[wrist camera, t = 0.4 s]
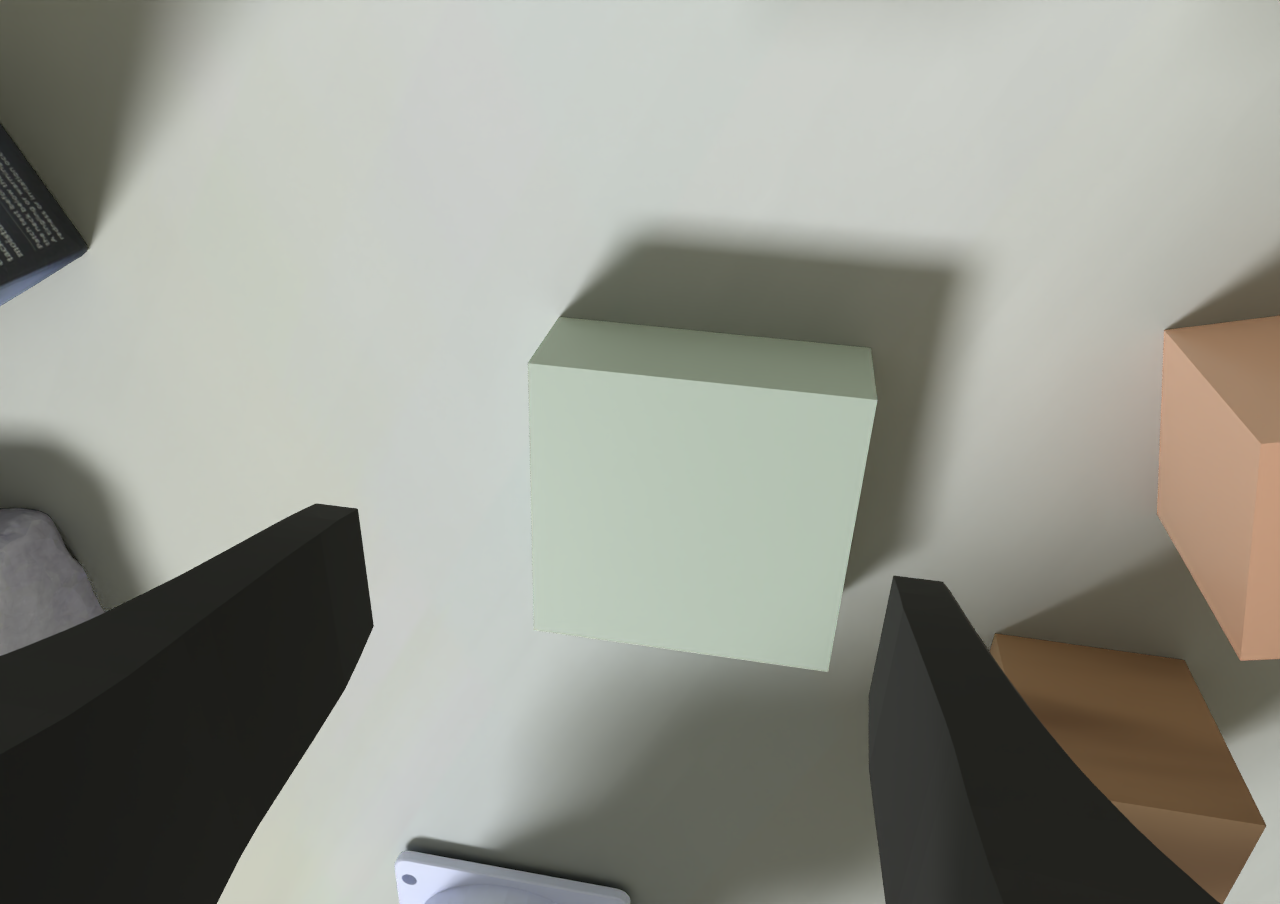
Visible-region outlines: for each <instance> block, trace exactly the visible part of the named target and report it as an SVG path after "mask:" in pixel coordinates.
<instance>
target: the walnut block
mask: <svg viewBox="0 0 1280 904" xmlns="http://www.w3.org/2000/svg"><path fill="white" fill-rule="evenodd" d="M990 653H991V655H992V656H993V658H994V659H995V661H996V662H997V663H998V665H999V666H1000V668H1001V669H1002V671H1003V672H1004V673H1005V675H1006V676H1007V677H1008V679H1009V680H1010V681H1011V683H1012V684H1013V686H1014V687H1015V688H1016V690H1017V691H1018V692H1019V694H1020V695H1021V696H1022V698H1023V699H1024V701H1025V702H1026V703H1027V705H1028V706H1029V707H1030V709H1031V710H1032V711H1033V712H1034V714H1035V715H1036V716H1037V718H1038V719H1039V720H1040V721H1041V723H1042V724H1043V725H1044V727H1045V728H1046V729H1047V730H1048V732H1049V733H1050V734H1051V735H1052V736H1053V738H1054V739H1055V740H1056V741H1057V742H1058V744H1059V745H1060V746H1061V747H1062V748H1063V750H1064V751H1065V752H1066V753H1067V754H1068V756H1069V757H1070V758H1071V759H1072V760H1073V762H1074V763H1075V764H1076V765H1077V766H1078V767H1079V768H1080V770H1081V771H1082V772H1083V773H1084V774H1085V775H1086V776H1087V777H1088V778H1089V779H1090V781H1091V782H1092V783H1093V784H1094V785H1095V786H1096V787H1097V788H1098V789H1099V790H1100V791H1101V792H1102V793H1103V794H1104V795H1105V796H1106V797H1107V798H1108V799H1109V800H1110V801H1111V802H1112V803H1113V804H1114V805H1115V806H1116V807H1117V808H1118V809H1119V811H1120V812H1121V813H1122V814H1123V815H1124V816H1125V817H1126V818H1127V819H1128V820H1129V821H1130V822H1131V823H1132V824H1133V825H1134V826H1135V827H1136V828H1137V829H1138V830H1139V831H1140V832H1141V833H1142V834H1144V835H1145V836H1146V837H1147V838H1148V839H1149V840H1150V841H1151V842H1152V843H1153V844H1154V845H1155V846H1156V847H1157V848H1158V849H1159V850H1160V851H1161V852H1163V853H1164V854H1165V855H1166V856H1167V857H1168V858H1169V859H1170V860H1172V861H1173V862H1174V863H1175V864H1176V865H1177V866H1178V867H1179V868H1181V869H1182V870H1183V871H1184V872H1185V873H1186V874H1187V875H1188V876H1190V877H1191V878H1192V879H1193V880H1194V881H1195V882H1196V883H1197V884H1198V885H1200V886H1201V887H1202V888H1203V889H1204V890H1205V891H1206V892H1207V893H1209V894H1210V895H1211V896H1212V897H1213V898H1214V899H1216V900H1217V901H1218V902H1219V903H1220V904H1223V903H1224V901H1225V899H1226V897H1227V896H1228V894H1229V892H1230V890H1231V888H1232V887H1233V885H1234V883H1235V881H1236V879H1237V878H1238V876H1239V874H1240V872H1241V870H1242V869H1243V867H1244V865H1245V863H1246V861H1247V860H1248V858H1249V856H1250V854H1251V852H1252V851H1253V849H1254V847H1255V845H1256V843H1257V842H1258V840H1259V838H1260V836H1261V834H1262V833H1263V831H1264V829H1265V827H1266V824H1265V822H1264V820H1263V818H1262V816H1261V814H1260V812H1259V810H1258V808H1257V806H1256V804H1255V802H1254V800H1253V798H1252V796H1251V794H1250V792H1249V790H1248V788H1247V786H1246V784H1245V782H1244V780H1243V778H1242V776H1241V774H1240V772H1239V770H1238V767H1237V765H1236V763H1235V761H1234V759H1233V757H1232V755H1231V753H1230V751H1229V749H1228V747H1227V745H1226V743H1225V741H1224V739H1223V737H1222V735H1221V733H1220V731H1219V729H1218V727H1217V725H1216V723H1215V721H1214V719H1213V717H1212V715H1211V713H1210V711H1209V709H1208V707H1207V705H1206V703H1205V701H1204V699H1203V697H1202V695H1201V693H1200V691H1199V689H1198V687H1197V685H1196V683H1195V681H1194V679H1193V677H1192V675H1191V672H1190V670H1189V668H1188V666H1187V664H1186V662H1185V660H1181V659H1174V658H1166V657H1159V656H1152V655H1145V654H1138V653H1131V652H1124V651H1117V650H1110V649H1103V648H1096V647H1088V646H1081V645H1074V644H1067V643H1060V642H1053V641H1046V640H1039V639H1032V638H1025V637H1017V636H1010V635H1003V634H996V633H995V635H994V639H993V642H992V645H991V649H990Z"/></svg>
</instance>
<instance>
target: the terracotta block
mask: <svg viewBox="0 0 1280 904" xmlns="http://www.w3.org/2000/svg"><path fill="white" fill-rule="evenodd" d="M1157 515H1158V517H1159V519H1160V521H1161V522H1162V524H1163V526H1164V528H1165V529H1166V531H1167V533H1168V535H1169V536H1170V538H1171V540H1172V542H1173V543H1174V545H1175V547H1176V549H1177V550H1178V552H1179V554H1180V556H1181V557H1182V559H1183V561H1184V563H1185V564H1186V566H1187V568H1188V570H1189V572H1190V573H1191V575H1192V577H1193V579H1194V580H1195V582H1196V584H1197V586H1198V587H1199V589H1200V591H1201V593H1202V594H1203V596H1204V598H1205V600H1206V601H1207V603H1208V605H1209V607H1210V608H1211V610H1212V612H1213V614H1214V615H1215V617H1216V619H1217V621H1218V622H1219V624H1220V626H1221V628H1222V629H1223V631H1224V633H1225V635H1226V636H1227V638H1228V640H1229V642H1230V644H1231V645H1232V647H1233V649H1234V651H1235V652H1236V654H1237V656H1238V658H1239V659H1240V661H1245V660H1267V659H1280V315H1279V316H1271V317H1263V318H1255V319H1248V320H1240V321H1232V322H1224V323H1216V324H1208V325H1200V326H1192V327H1185V328H1177V329H1169V330H1164V348H1163V374H1162V399H1161V424H1160V449H1159V474H1158V499H1157Z"/></svg>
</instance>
